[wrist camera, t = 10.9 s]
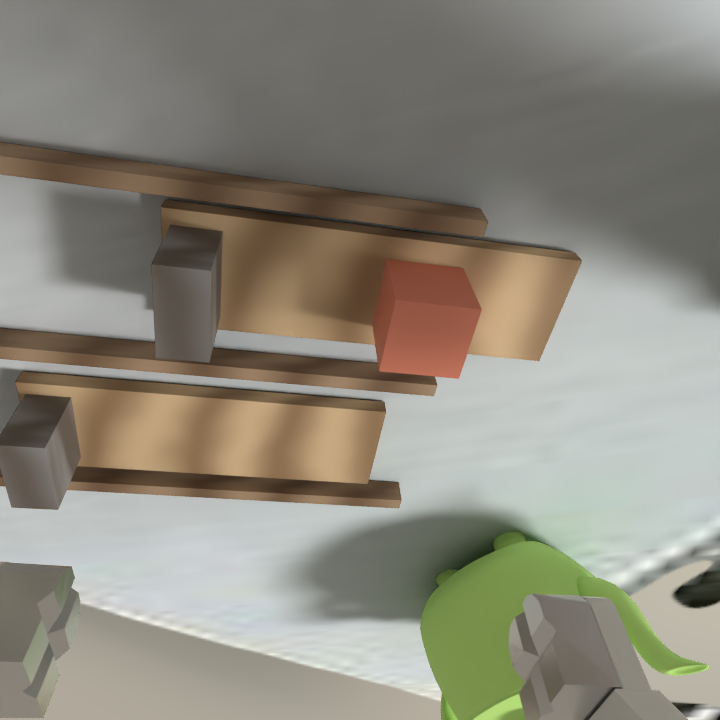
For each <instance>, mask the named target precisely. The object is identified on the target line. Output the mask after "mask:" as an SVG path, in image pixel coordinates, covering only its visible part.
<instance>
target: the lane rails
mask: <svg viewBox="0 0 720 720" xmlns="http://www.w3.org/2000/svg"><path fill="white" fill-rule="evenodd" d="M0 174H2V175H9V176H17V177H25V178H32V179H40V180H48V181H55V182H63V183H71V184H78V185H86V186H93V187H101V188H109V189H116V190H124V191H132V192H139V193H147V194H155V195H162V196H170V197H178V198H185V199H193V200H200V201H208V202H216V203H223V204H231V205H239V206H246V207H254V208H262V209H269V210H277V211H285V212H292V213H300V214H307V215H315V216H323V217H330V218H338V219H346V220H353V221H361V222H369V223H376V224H384V225H391V226H399V227H407V228H414V229H422V230H430V231H437V232H445V233H453V234H460V235H468V236H476V237H484V234H485V230H486V227H487V224H488V221H487V219H486V218H485V216H484V214H483V213H482V211H481V209H477V208H470V207H463V206H455V205H448V204H441V203H434V202H427V201H419V200H412V199H405V198H398V197H390V196H383V195H376V194H369V193H362V192H354V191H347V190H340V189H333V188H325V187H318V186H311V185H304V184H297V183H289V182H282V181H275V180H268V179H261V178H253V177H246V176H239V175H232V174H224V173H217V172H210V171H203V170H196V169H188V168H181V167H174V166H167V165H159V164H152V163H145V162H138V161H131V160H123V159H116V158H109V157H102V156H95V155H87V154H80V153H73V152H66V151H58V150H51V149H44V148H37V147H30V146H22V145H15V144H8V143H1V142H0ZM0 359H9V360H21V361H32V362H44V363H56V364H67V365H79V366H90V367H102V368H114V369H125V370H137V371H148V372H160V373H171V374H183V375H195V376H206V377H218V378H229V379H241V380H253V381H264V382H276V383H287V384H299V385H310V386H322V387H334V388H345V389H357V390H368V391H380V392H392V393H403V394H415V395H426V396H434V394H435V391H436V388H437V383H436V379H435V376H425V375H414V374H403V373H393V372H382V371H379V366H378V363H367V362H357V361H346V360H335V359H325V358H314V357H303V356H293V355H282V354H271V353H261V352H250V351H239V350H229V349H218V348H213V350H212V354H211V358H210V362H209V363H208V362H197V361H186V360H175V359H164V358H156V349H155V343H154V342H143V341H133V340H122V339H111V338H101V337H90V336H79V335H69V334H58V333H47V332H37V331H26V330H15V329H5V328H0ZM0 486H5V482H4V479H3V475H2V472H1V468H0ZM67 490H79V491H97V492H115V493H133V494H151V495H169V496H187V497H205V498H223V499H241V500H259V501H277V502H295V503H313V504H331V505H349V506H367V507H385V508H399V507H400V504H401V495H400V488H399V482H384V481H368V484H360V483H344V482H328V481H311V480H295V479H279V478H263V477H246V476H230V475H214V474H198V473H181V472H165V471H149V470H133V469H116V468H100V467H84V466H77V468H76V470H75V472H74V474H73V477H72V479H71V481H70V483H69V486H68V488H67Z"/></svg>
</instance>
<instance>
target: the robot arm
mask: <svg viewBox="0 0 720 720" xmlns="http://www.w3.org/2000/svg"><path fill="white" fill-rule="evenodd" d="M74 579H75V576H74V573H73V570H72V567H71V566H54V565H37V564H21V563H10V562H0V718H43V717H44V715H45V712H46V710H47V707H48V704H49V702H50V699H51V696H52V694H53V691H54V689H55V686H56V683H57V681H58V678H59V672H58V668H57V665H56V660H57V659H58V658H59V657H61V656H62V655H63V654H64V653H65V652H66V651H67V650H68V649H69V648H70V646H71V644H72V641H73V638H74V635H75V632H76V628H77V623H78V619H79V615H80V598H79V593H78V592H77V591H75V590H74V589H72V588H71V586H72V584H73V581H74ZM522 604H523V608H524V612H523V613H521V614H519V615H517V616H515V618H514V620H513V622H512V624H511V626H510V631H509V641H508V642H509V652H510V657H511V662H512V666H513V669H514V670H515V671H516V672H517V673H518V675H519V676H520V677H521V678H522V679H523V680H524V682H523V685H522V687H521V690H520V692H519V695H520V699H521V703H522V707H523V712H524V716H525V720H688V719H687V718H686V717H685V716H684V715H683V714H682V713H681V712H680V711H679V710H678V709H677V708H676V707H675V706H674V705H673V704H672V703H671V702H670V701H669V700H668V699H667V698H666V697H665V696H664V695H663V694H662V693H661V692H660V691H658V690H651V688H650V686H649V683H648V681H647V678H646V676H645V674H644V672H643V669H642V667H641V665H640V662H639V660H638V657H637V655H636V653H635V650H634V648H633V646H632V643H631V641H630V639H629V636H628V634H627V632H626V629H625V627H624V624H623V622H622V620H621V617H620V615H619V613H618V610H617V608H616V606H615V604H614V603H613V602H612V601H611V600H610V599H608V598H605V597H587V596H578V595H553V594H530V595H528V596H526V598H525V600H524V601H523V603H522Z"/></svg>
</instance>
